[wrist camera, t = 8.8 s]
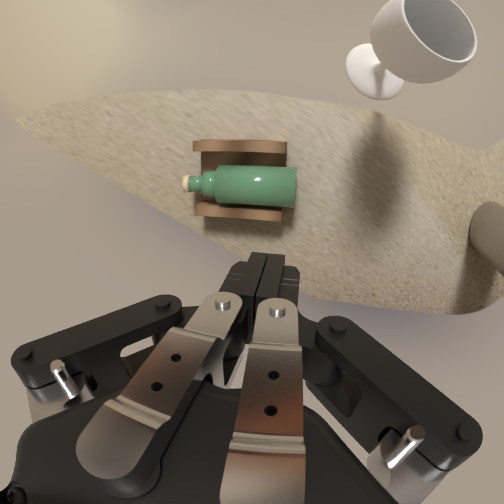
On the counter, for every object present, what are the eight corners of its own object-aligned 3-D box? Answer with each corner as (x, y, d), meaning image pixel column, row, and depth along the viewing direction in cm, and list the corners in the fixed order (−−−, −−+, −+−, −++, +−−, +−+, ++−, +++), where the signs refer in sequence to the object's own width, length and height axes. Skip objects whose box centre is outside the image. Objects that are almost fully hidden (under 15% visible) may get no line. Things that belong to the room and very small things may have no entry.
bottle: (295, 176, 31) (175, 173, 34) (293, 215, 34) (181, 208, 37) (296, 162, 35) (190, 159, 38) (295, 196, 38) (194, 191, 41)
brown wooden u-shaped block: (286, 141, 35) (285, 142, 32) (283, 213, 40) (281, 221, 36) (202, 139, 37) (192, 141, 34) (203, 207, 42) (194, 215, 38)
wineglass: (400, 108, 30) (486, 97, 11) (341, 90, 31) (383, 48, 12) (406, 55, 26) (484, 9, 8) (349, 37, 27) (386, -39, 8)
